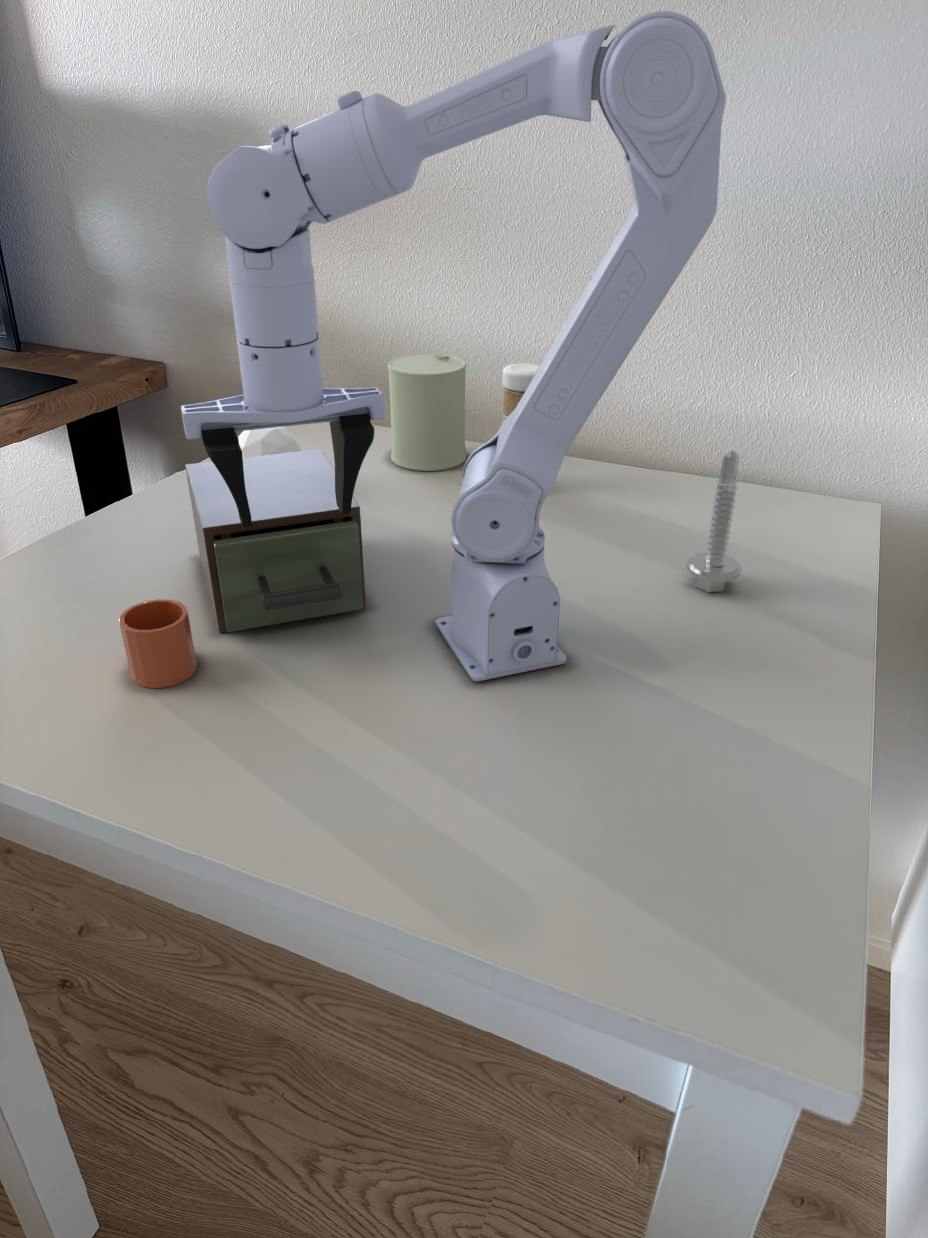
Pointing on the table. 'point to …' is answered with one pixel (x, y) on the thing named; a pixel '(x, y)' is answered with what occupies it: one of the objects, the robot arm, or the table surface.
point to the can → (427, 411)
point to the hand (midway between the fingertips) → (295, 515)
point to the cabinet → (263, 504)
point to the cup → (158, 643)
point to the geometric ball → (267, 442)
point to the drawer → (289, 573)
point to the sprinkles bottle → (516, 384)
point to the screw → (718, 534)
